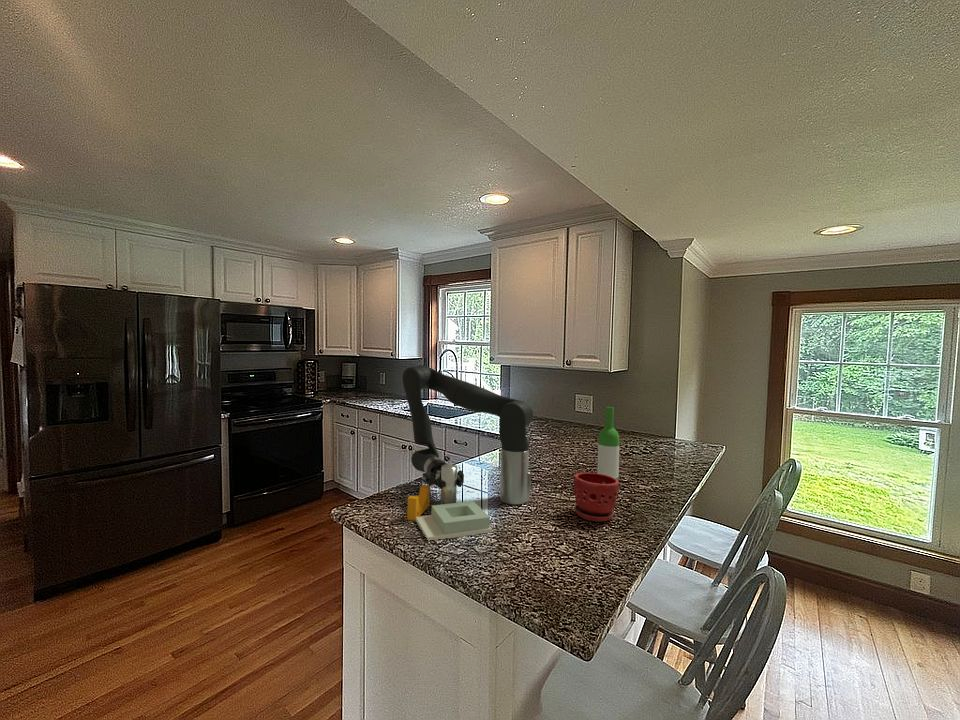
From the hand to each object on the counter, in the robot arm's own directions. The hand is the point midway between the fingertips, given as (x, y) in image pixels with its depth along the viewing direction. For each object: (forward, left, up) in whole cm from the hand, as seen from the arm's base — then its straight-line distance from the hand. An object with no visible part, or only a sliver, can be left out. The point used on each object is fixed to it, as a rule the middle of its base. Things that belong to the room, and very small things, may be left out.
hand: (451, 484), depth 126 cm
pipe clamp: (+10, -2, -8) cm, 14 cm away
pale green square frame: (+3, +11, -8) cm, 14 cm away
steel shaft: (0, -3, -8) cm, 8 cm away
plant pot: (-41, +17, -8) cm, 45 cm away
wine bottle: (-66, -8, -8) cm, 67 cm away
